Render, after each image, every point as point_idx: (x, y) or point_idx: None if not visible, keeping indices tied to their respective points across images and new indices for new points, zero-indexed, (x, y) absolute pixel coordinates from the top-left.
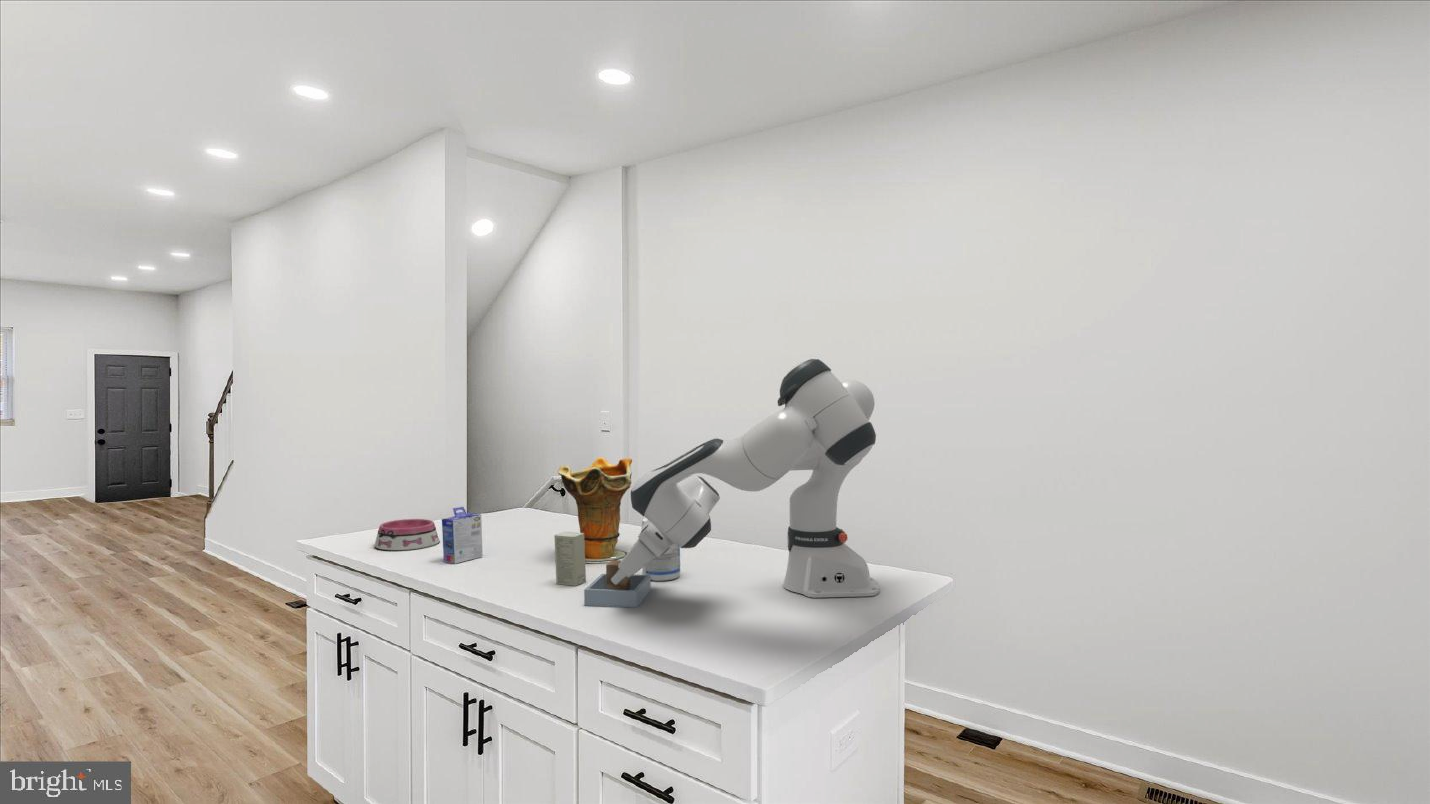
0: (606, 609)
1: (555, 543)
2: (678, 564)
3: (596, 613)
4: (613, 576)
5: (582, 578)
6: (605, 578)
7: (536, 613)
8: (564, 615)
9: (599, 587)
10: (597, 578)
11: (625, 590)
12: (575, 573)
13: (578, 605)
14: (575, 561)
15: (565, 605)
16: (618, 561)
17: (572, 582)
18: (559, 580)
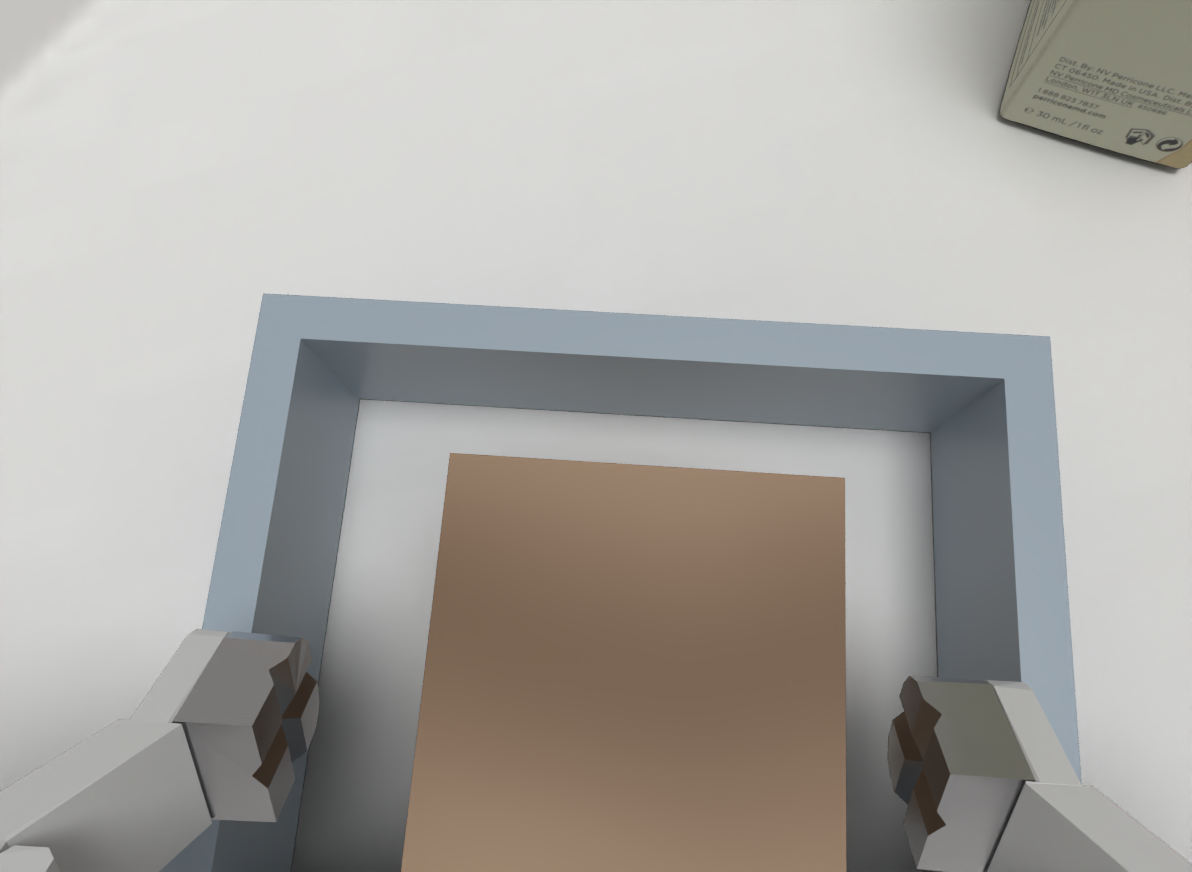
0: (187, 619)
1: None
2: None
3: (62, 542)
4: (165, 675)
5: (1141, 121)
6: (983, 410)
7: (124, 18)
8: (37, 256)
9: (747, 399)
10: (799, 332)
11: (194, 865)
12: (1062, 15)
13: None
14: None
15: (344, 187)
16: (752, 651)
17: (1022, 58)
18: None
